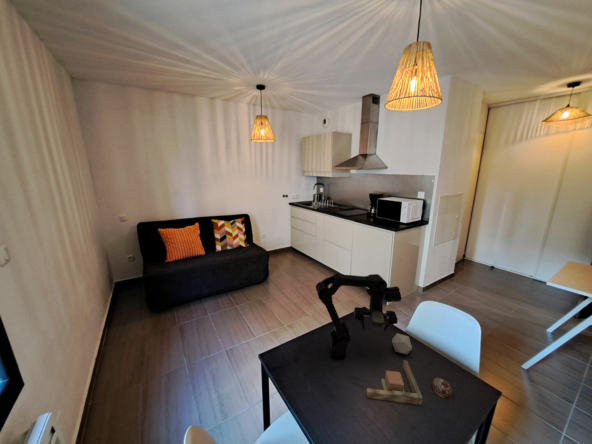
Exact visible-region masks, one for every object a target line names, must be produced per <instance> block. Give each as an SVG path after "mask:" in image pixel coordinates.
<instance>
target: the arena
mask: <svg viewBox="0 0 592 444" xmlns="http://www.w3.org/2000/svg"><path fill="white" fill-rule="evenodd" d="M402 367H403V370H404V374H405V375H406V378H407V381H408V383H409V386H410V389H411V391H412V392H408V391H407V392H406V391H405V389H403V392H401V391H393V390H392V391H387V388H386V384H385V378H381V379H380V380H381V384H382V385H381V386H382V388H383V389H376V388H369V387H366V398H367V399H374V400H381V401H387V402H388V401H389V402H395V403H396V402H397V403H404V404H410V405H419V406H422V403H423V396H422V393H421V391H420V389H419V386H418V383H417V381H416V378H415V376H414V374H413V372H412V369H411V366H410V364H409V362H408V360H406V359H405V360H404V359H403V363H402Z"/></svg>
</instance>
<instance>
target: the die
mask: <svg viewBox="0 0 592 444" xmlns="http://www.w3.org/2000/svg"><path fill="white" fill-rule="evenodd" d="M391 342H392V346H393V349H394V351H395V352H397V353H399V354H400V353H401V354H404V355H408V354H409V353H410V352H411V351H412V350H413V347H412V344H411V340H410V336H409V335H408V336H407V335H405V334H401V333H395V335H394V336H393V338H392V341H391Z"/></svg>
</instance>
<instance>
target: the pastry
mask: <svg viewBox="0 0 592 444" xmlns="http://www.w3.org/2000/svg"><path fill="white" fill-rule="evenodd" d="M431 387H432V390H433V392H434V393H435V395H437V396H438V397H440V398H442V399H446V400H447V399H452V398H453V397H454V390H453V386H452V385H451V384H450V382H448V381H447V380H446V379H444V378H442V377H434V378H432V380H431Z"/></svg>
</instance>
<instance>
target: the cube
mask: <svg viewBox="0 0 592 444" xmlns="http://www.w3.org/2000/svg"><path fill="white" fill-rule="evenodd" d="M384 379H385V384H386V388H387V391H392V390H393V391H401V392H403V389H404V388H405V384H404V380H403V377H402V375H401V372H400V371H391V370H385V376H384ZM404 390H405V389H404Z"/></svg>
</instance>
